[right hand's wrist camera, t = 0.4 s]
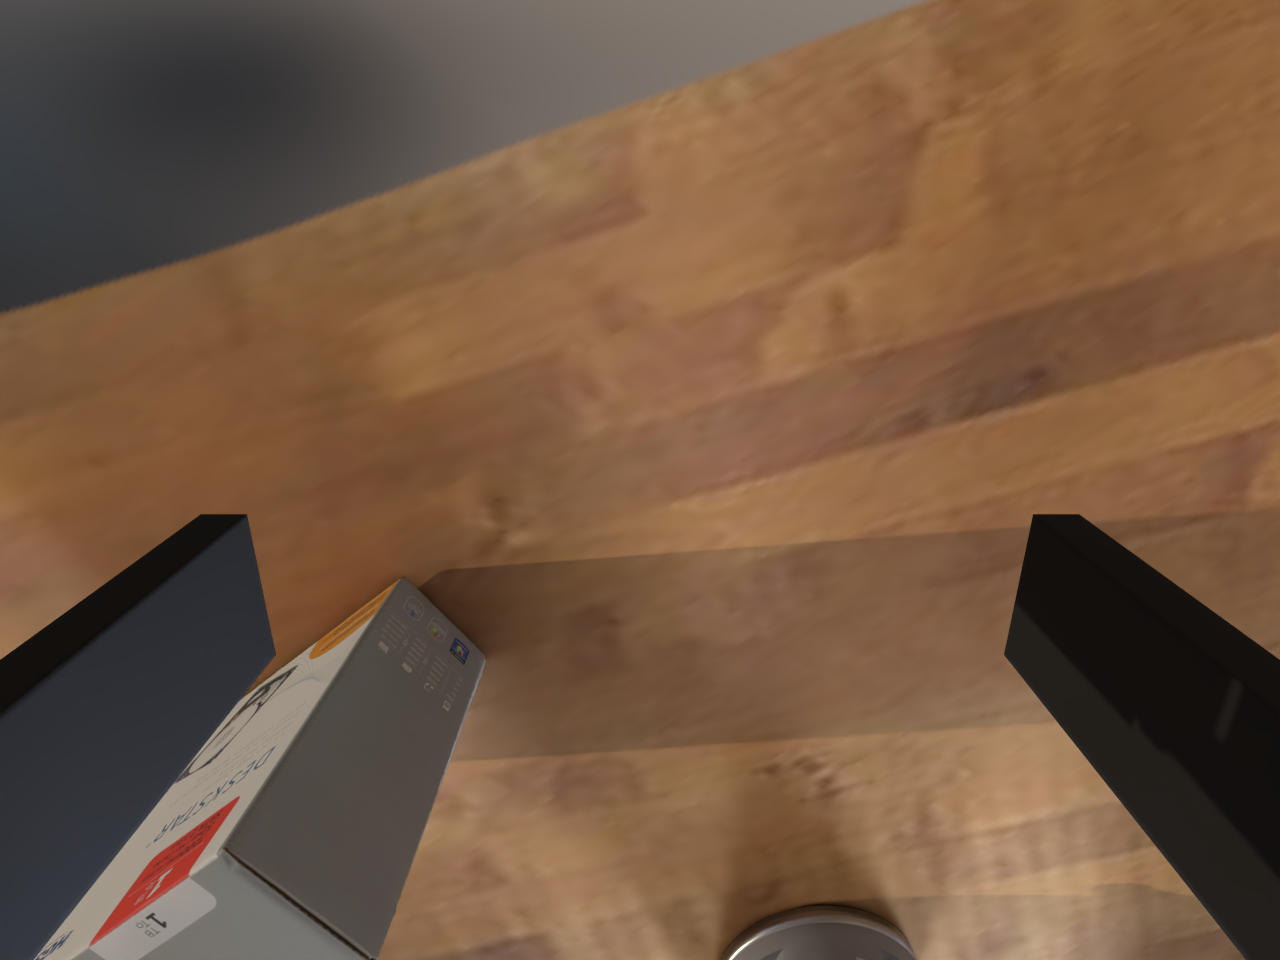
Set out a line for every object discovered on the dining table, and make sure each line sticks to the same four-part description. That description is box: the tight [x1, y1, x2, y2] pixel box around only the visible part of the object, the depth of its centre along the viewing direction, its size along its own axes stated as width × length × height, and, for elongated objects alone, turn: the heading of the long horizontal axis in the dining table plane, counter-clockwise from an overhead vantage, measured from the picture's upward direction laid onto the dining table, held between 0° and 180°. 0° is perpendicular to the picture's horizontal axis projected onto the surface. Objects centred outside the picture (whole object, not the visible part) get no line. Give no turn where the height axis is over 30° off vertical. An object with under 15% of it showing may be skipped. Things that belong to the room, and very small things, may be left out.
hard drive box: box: [34, 578, 486, 960], centre depth 37 cm, size 16×8×20 cm, turn 128°
